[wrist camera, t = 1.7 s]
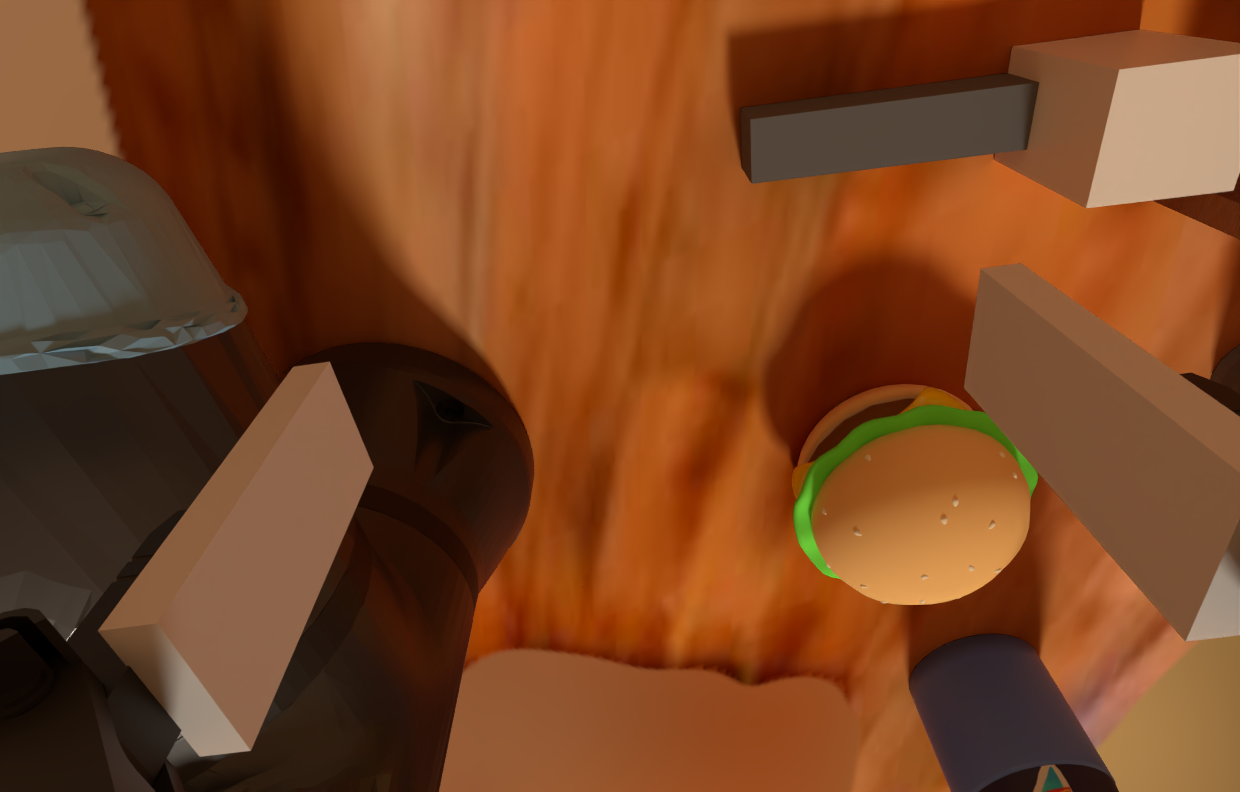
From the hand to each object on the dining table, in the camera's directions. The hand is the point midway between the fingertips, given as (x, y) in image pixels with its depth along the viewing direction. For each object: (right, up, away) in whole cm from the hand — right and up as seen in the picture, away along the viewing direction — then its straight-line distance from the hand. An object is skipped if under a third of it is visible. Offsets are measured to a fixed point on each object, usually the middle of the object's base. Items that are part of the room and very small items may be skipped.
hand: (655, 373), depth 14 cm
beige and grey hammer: (+12, +11, +15) cm, 23 cm away
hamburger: (+14, -4, +25) cm, 29 cm away
